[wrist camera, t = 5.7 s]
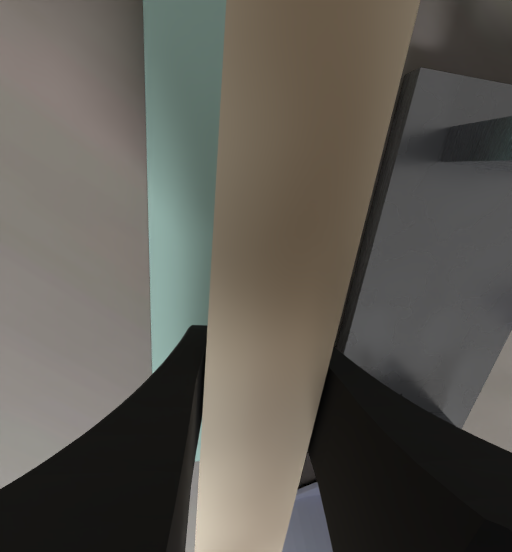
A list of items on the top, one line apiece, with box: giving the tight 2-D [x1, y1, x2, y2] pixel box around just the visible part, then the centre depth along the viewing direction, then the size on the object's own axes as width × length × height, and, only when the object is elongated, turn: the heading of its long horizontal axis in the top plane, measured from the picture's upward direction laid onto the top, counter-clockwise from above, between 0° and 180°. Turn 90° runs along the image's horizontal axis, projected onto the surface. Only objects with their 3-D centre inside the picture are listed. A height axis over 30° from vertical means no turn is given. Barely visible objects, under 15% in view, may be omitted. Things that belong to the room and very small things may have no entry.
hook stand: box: [336, 67, 512, 429], centre depth 13 cm, size 10×21×6 cm, turn 174°
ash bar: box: [195, 0, 420, 552], centre depth 9 cm, size 3×20×3 cm, turn 174°
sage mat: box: [143, 0, 226, 461], centre depth 14 cm, size 9×24×1 cm, turn 174°
